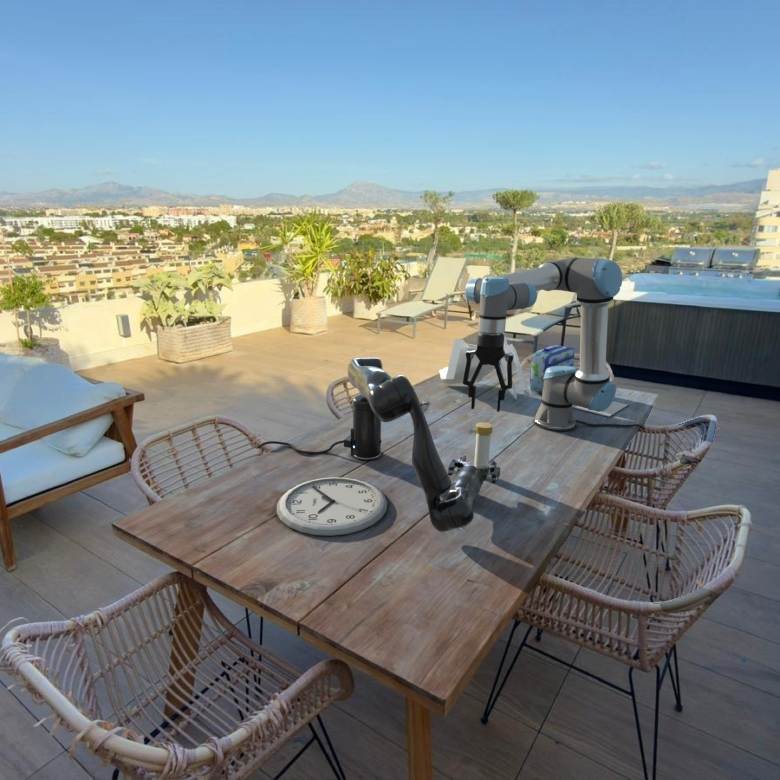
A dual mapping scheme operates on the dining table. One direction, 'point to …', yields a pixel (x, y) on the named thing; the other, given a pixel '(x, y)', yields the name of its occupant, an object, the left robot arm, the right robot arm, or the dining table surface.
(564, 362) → the lunch box
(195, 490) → the dining table surface
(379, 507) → the wall clock
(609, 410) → the invitation card
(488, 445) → the jar
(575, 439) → the dining table surface
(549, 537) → the dining table surface
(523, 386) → the white plastic object
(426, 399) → the fork
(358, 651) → the dining table surface
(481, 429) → the lid
